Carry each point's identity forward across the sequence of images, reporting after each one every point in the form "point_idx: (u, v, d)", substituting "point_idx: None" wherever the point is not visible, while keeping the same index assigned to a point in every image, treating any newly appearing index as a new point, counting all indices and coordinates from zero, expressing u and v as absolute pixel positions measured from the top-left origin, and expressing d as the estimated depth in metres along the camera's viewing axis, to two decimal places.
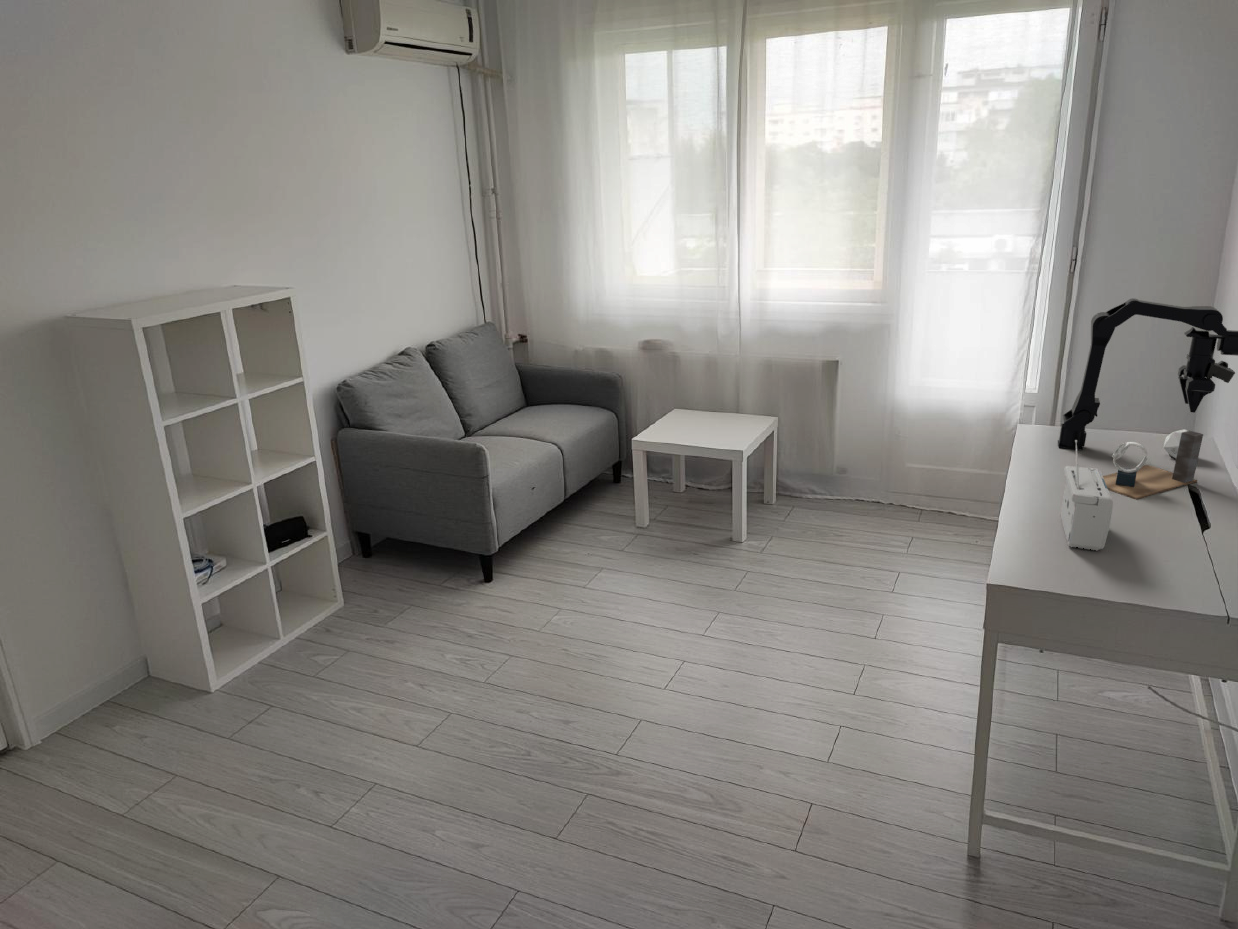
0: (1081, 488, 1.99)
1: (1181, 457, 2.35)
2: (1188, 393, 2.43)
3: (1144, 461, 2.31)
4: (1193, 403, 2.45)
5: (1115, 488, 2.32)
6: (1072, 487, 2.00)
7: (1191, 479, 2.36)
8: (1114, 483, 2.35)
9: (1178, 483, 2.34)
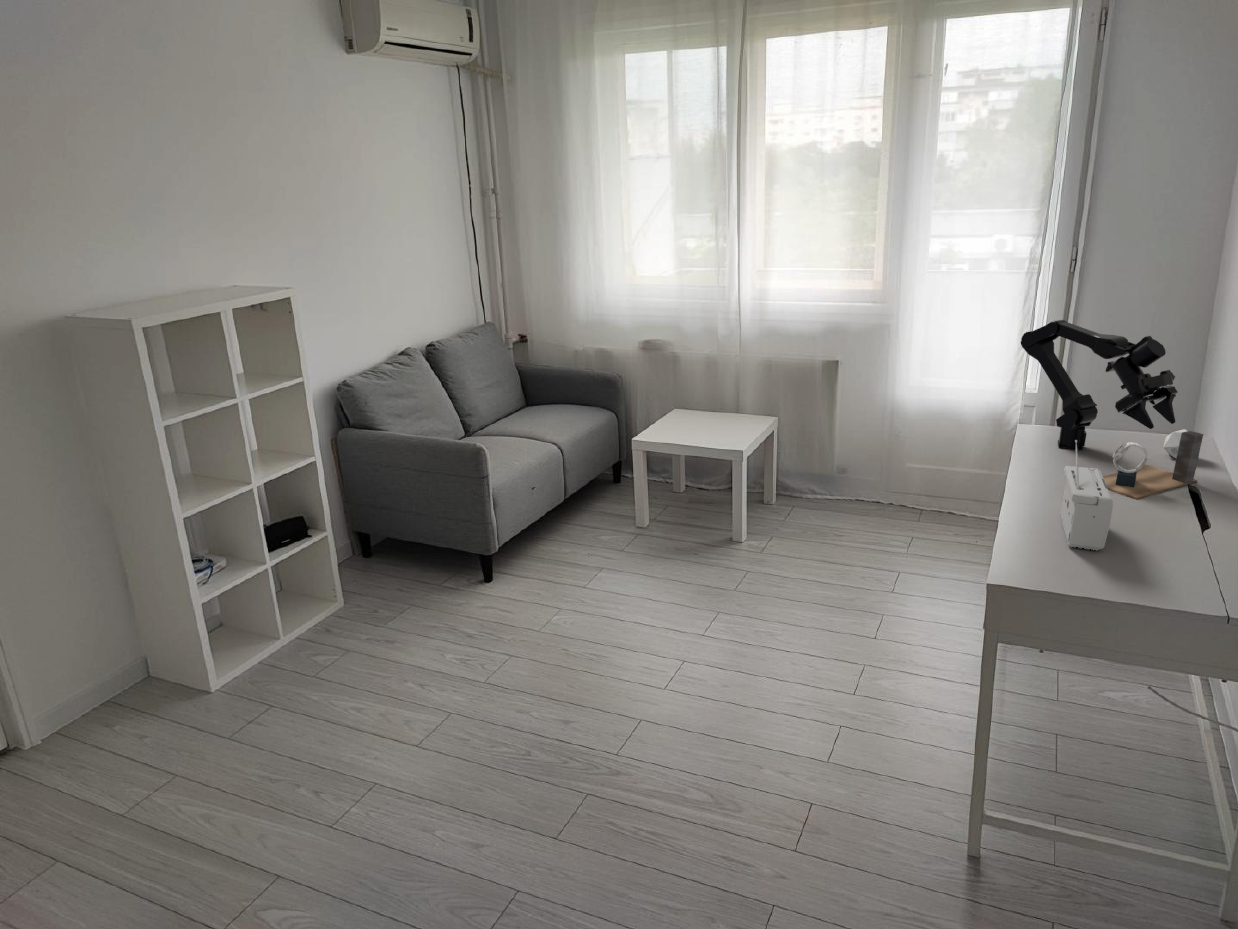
0: (1081, 488, 1.99)
1: (1181, 457, 2.34)
2: (1129, 415, 2.40)
3: (1144, 462, 2.31)
4: (1143, 421, 2.38)
5: (1115, 488, 2.32)
6: (1072, 487, 2.00)
7: (1191, 479, 2.36)
8: (1114, 483, 2.35)
9: (1178, 483, 2.34)
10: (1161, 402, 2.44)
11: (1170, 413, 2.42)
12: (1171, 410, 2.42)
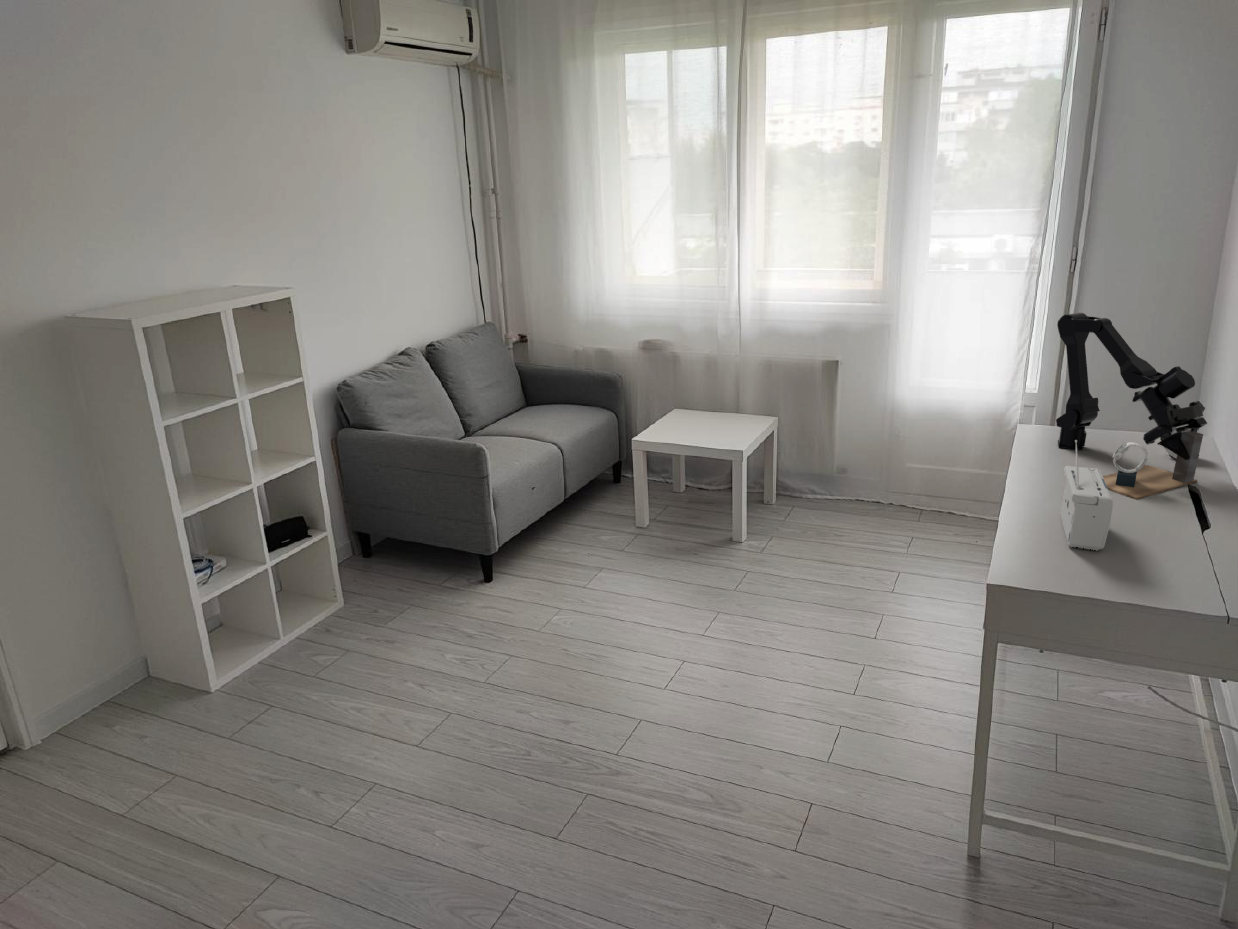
0: (1081, 488, 1.99)
1: (1181, 457, 2.34)
2: (1164, 445, 2.36)
3: (1144, 462, 2.31)
4: (1179, 452, 2.34)
5: (1115, 488, 2.32)
6: (1072, 487, 2.00)
7: (1191, 479, 2.36)
8: (1114, 483, 2.35)
9: (1178, 483, 2.34)
10: None
11: None
12: None
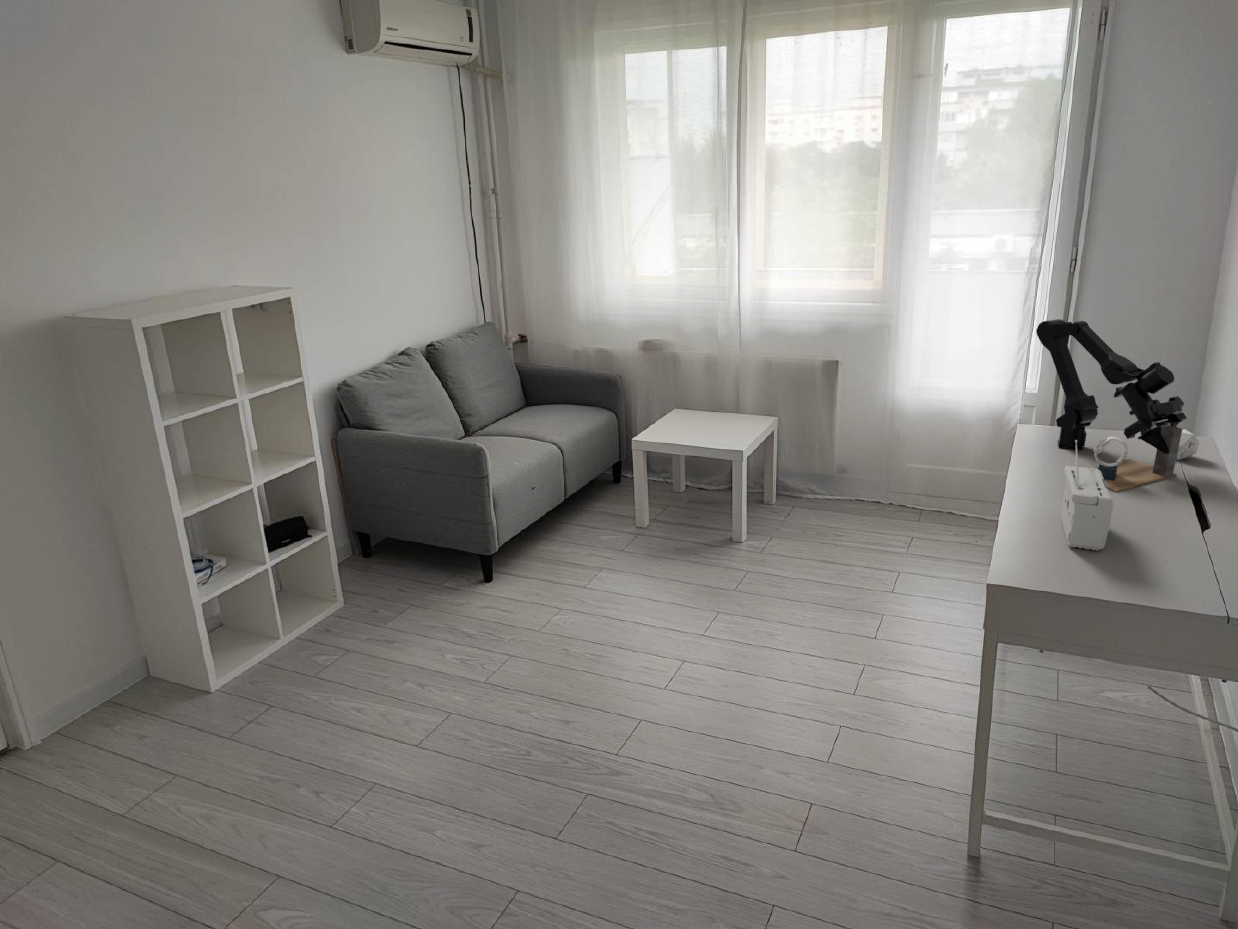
0: (1081, 488, 1.99)
1: None
2: (1144, 440, 2.40)
3: (1124, 456, 2.35)
4: (1159, 446, 2.38)
5: None
6: (1072, 487, 2.00)
7: (1171, 473, 2.40)
8: None
9: (1158, 477, 2.39)
10: None
11: None
12: None
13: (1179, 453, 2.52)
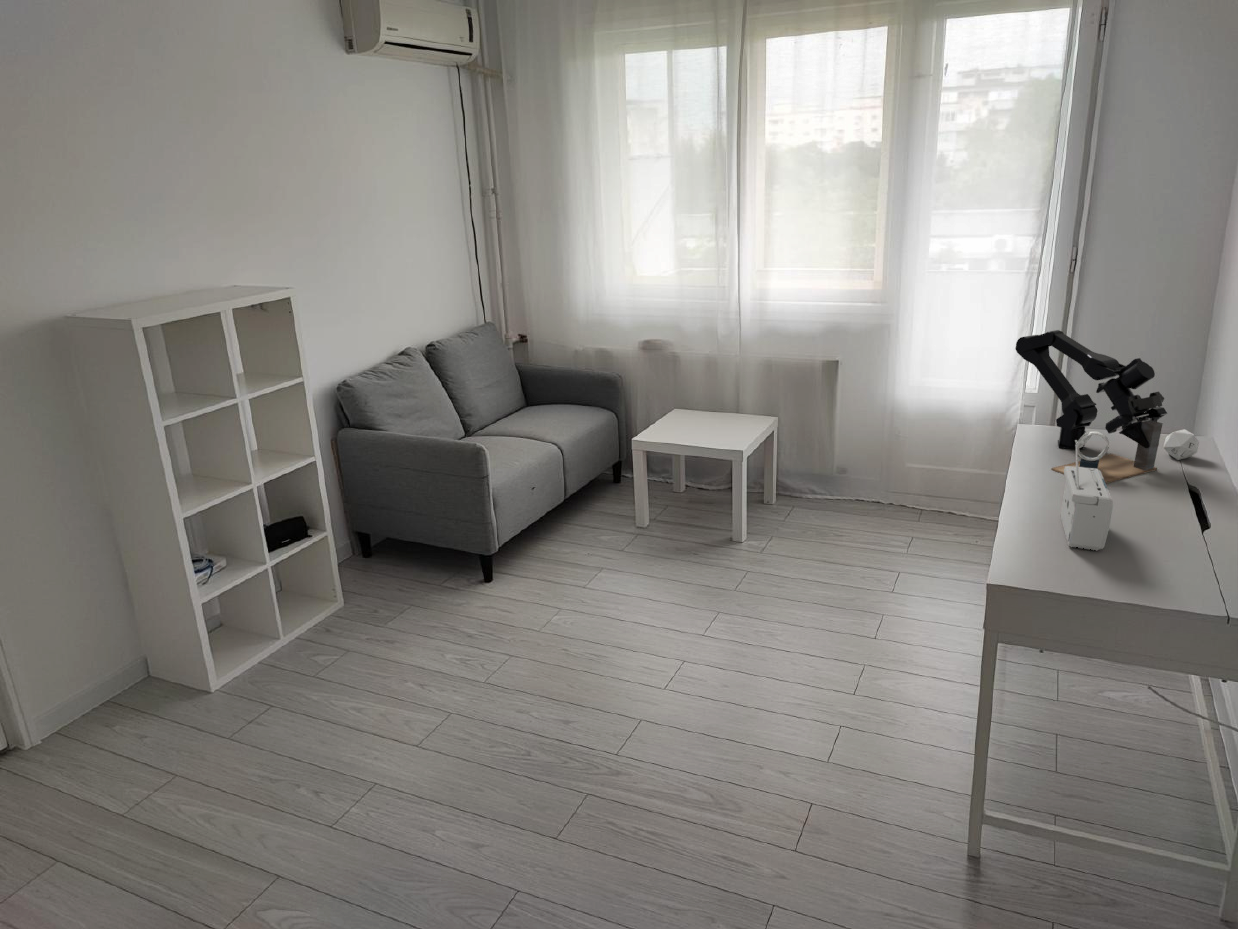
0: (1081, 488, 1.99)
1: None
2: (1125, 434, 2.45)
3: (1106, 450, 2.40)
4: (1139, 440, 2.43)
5: None
6: (1072, 487, 2.00)
7: (1151, 467, 2.45)
8: None
9: (1138, 471, 2.44)
10: None
11: None
12: None
13: (1179, 453, 2.52)
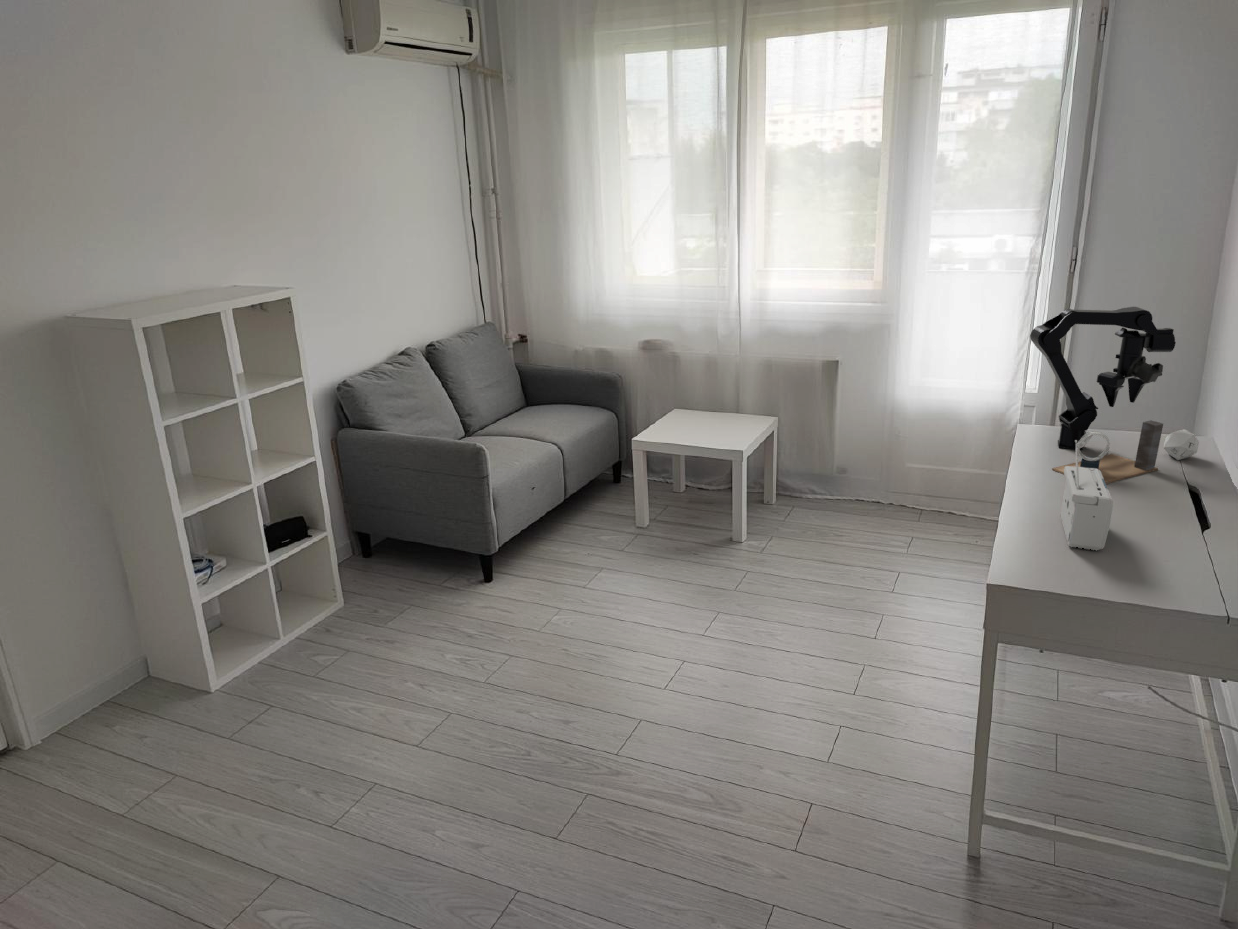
0: (1081, 488, 1.99)
1: (1142, 446, 2.44)
2: (1103, 386, 2.57)
3: (1106, 450, 2.40)
4: (1109, 398, 2.58)
5: None
6: (1072, 487, 2.00)
7: (1152, 467, 2.45)
8: None
9: (1139, 471, 2.43)
10: (1136, 380, 2.60)
11: (1135, 394, 2.61)
12: (1138, 392, 2.60)
13: (1179, 453, 2.52)
